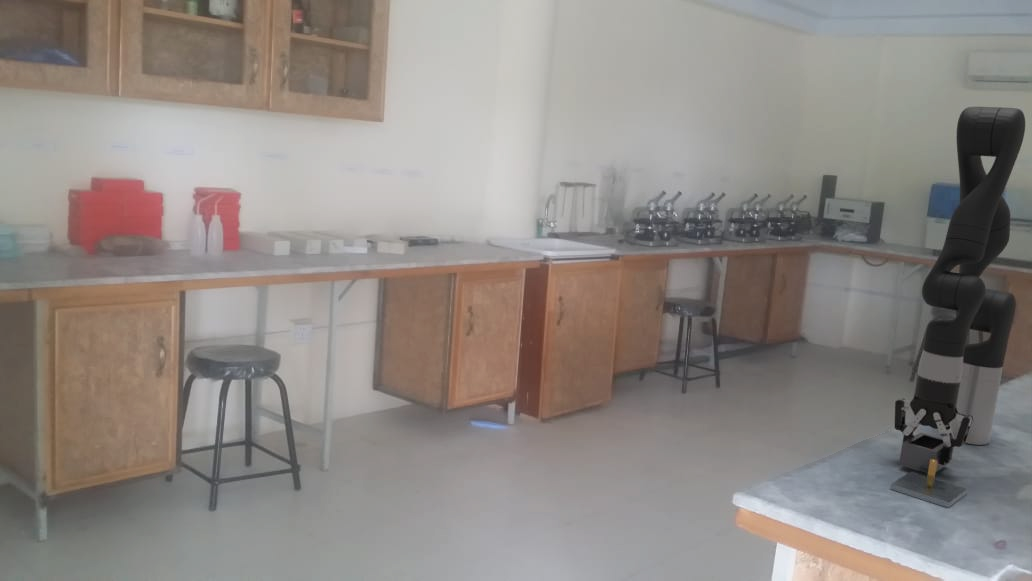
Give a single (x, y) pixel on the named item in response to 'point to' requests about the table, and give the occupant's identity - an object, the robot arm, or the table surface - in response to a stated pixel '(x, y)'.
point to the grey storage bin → (922, 452)
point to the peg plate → (929, 487)
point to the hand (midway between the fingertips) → (925, 458)
